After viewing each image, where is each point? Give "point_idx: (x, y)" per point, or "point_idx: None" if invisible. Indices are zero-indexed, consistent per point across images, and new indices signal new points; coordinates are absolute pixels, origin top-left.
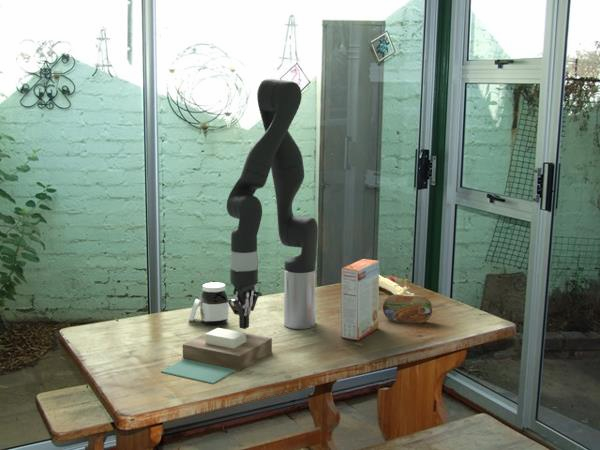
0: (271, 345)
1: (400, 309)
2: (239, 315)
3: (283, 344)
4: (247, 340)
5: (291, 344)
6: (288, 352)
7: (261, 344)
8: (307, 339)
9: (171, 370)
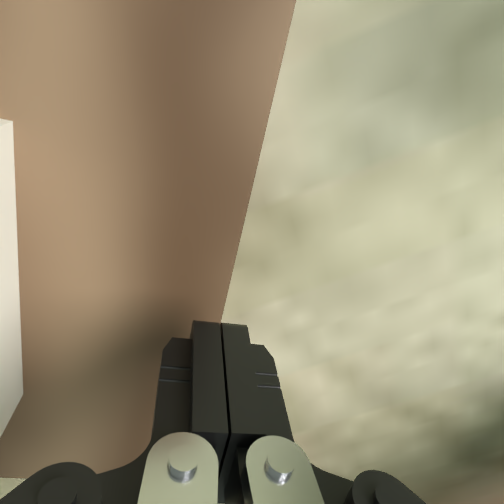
0: None
1: None
2: (139, 461)
3: (322, 409)
4: (58, 392)
5: (330, 434)
6: None
7: None
8: (412, 461)
9: None
